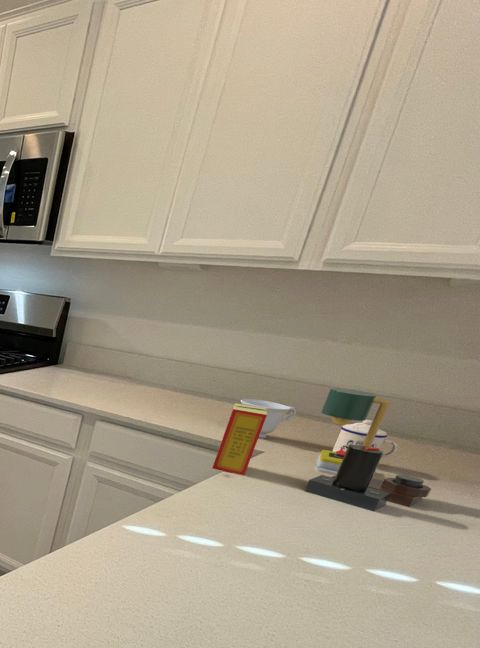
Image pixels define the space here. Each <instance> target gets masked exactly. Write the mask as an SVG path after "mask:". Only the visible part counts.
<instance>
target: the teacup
mask: <svg viewBox="0 0 480 648" xmlns="http://www.w3.org/2000/svg"><path fill="white" fill-rule="evenodd" d="M240 402H241V404H243V405H249V406H255V407H261V408H267V416H266V419H265V421H264V424H263V427H262V429H261V432H260V435H259V437H258V439H259V438H261V439H262V438H263V439H264V438H266V436H267V434H271V433H273V432H275V430H276V429H278V427H279V425H280V423H284V422H289V421H291V420H292V419H293V418H294V417H295V416H296V414H297V409H296V408H295V407H294V406H287V405H285V404H281V403H279V402H272V401H269V400H268V401H267V400H261V399H254V398H242V399H240ZM289 411H290V414H289V415H287V416H286V417H284V416H285V415H286V414H287V413H288V412H289Z"/></svg>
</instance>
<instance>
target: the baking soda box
mask: <svg viewBox="0 0 480 648" xmlns="http://www.w3.org/2000/svg"><path fill="white" fill-rule="evenodd" d="M266 416H267V408H261V407H255V406H249V405H243V404H242V403H238V402H237V403H236V402H235V403H234V404H233V408H232V411H231V414H230V416H229V419H228V422H227V425H226V428H225V430H224V433H223V435H222V439H221V442H220V446H219V448H218V450H217V454H216V456H215V459H214V462H213V464H212V467H211V468H212V469H214V470H217V471H223V472H226V473H231V474H236V475H239V476H245V475H246V472H247V469H248V467H249V464H250V461H251V459H252V456H253V453H254V450H255V448H256V446H257V442H258V440H259V435H260V432H261V429H262V427H263V424H264V421H265V419H266Z"/></svg>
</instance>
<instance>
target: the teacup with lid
mask: <svg viewBox="0 0 480 648" xmlns="http://www.w3.org/2000/svg"><path fill="white" fill-rule="evenodd" d="M372 422H373V420H370V419H366V420H364V421H362V422H355V423H349V424H347V425H341V427H340V433H339V435H338V437H337V439H336V442H335V444H334V447H333V449H332V451H333V452H336V451H343V452H346V451H347V448H348V446H349V445H360V446H362V445H363V442H364V440H365V438H366V436H367V433H368V431H369V429H370V427H371V424H372ZM387 437H388V433H387V432H386V431H384V430H382V429H381V428H379V429H378V431H377V433H376V435H375V438H374V440H373V442H372V444H371V447H370V448H379V450H380V451H381V447H382V446H383V443H387V444H391V445H392V449H391V450H390V451H389V452H387V453H383V455H382V457H381V458H388V457H390V456H392V455H394V454H395V453H396V452H397V450H398V444H397V443H396V442H395V441H394V440H391V439H386V438H387Z"/></svg>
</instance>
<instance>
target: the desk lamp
mask: <svg viewBox="0 0 480 648" xmlns="http://www.w3.org/2000/svg"><path fill="white" fill-rule="evenodd" d="M390 403H391V402H390V400H389V399H387V398H386V399H385V398H380V397H377V394H375V393H371V392H367V391H363V390H357V389H349V388H343V387H342V388H341V387H331V388H330V389H329V392H328V395H327V397H326V399H325V402H324V404H323V406H322V409H321V414H323V415H325V416H329V417H331V421H332V422H333V423H334V424H335V425H337V426H343V425H347V424H351V423H352V421H356V422H357V421H358V422H361V421H362V422H363V421H364V420H367V419H368V416H369V414H370V411H371V409H372V407H373V406H374V405H373V404H379V407H378V408H377V411H376V413H375V416H374V417H373V420H372V421H373V422H372V424H371V427H370V429H369V431H368V433H367V436H366V438H365V440H364V442H363V445H362V446H366V447H371V444H372V442H373V440H374V438H375V435H376V433H377V431H378V429H380V426H381V424H382V422H383V420H384V417H385V415H386V413H387V410H388V409H389V406H390V405H391V404H390Z"/></svg>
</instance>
